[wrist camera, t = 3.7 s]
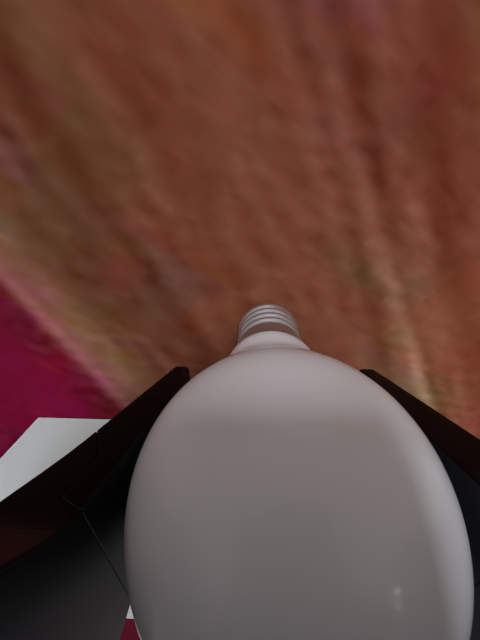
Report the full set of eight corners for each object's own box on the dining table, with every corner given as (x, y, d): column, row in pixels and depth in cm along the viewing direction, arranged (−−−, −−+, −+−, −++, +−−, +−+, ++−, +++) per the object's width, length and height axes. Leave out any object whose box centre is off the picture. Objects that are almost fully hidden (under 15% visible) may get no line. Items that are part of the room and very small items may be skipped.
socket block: (101, 533, 24) (66, 614, 19) (38, 417, 17) (-40, 501, 12) (266, 542, 23) (268, 627, 18) (272, 423, 16) (278, 516, 11)
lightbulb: (340, 253, 11) (1030, 824, 1) (328, 372, 14) (499, 816, 4) (192, 263, 11) (-163, 713, 2) (211, 375, 14) (119, 777, 5)
